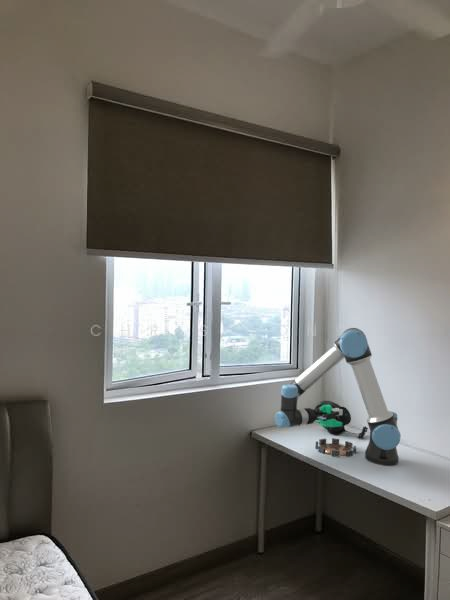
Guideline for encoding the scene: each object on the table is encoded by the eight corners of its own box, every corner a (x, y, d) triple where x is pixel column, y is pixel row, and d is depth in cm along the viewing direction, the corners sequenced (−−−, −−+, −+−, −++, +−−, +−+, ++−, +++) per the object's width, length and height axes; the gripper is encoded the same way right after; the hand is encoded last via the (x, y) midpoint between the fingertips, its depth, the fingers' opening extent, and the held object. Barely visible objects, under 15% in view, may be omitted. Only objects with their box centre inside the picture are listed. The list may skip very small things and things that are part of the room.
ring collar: (364, 453, 233) (364, 448, 233) (335, 459, 223) (335, 454, 223) (335, 441, 250) (335, 436, 249) (307, 446, 239) (307, 441, 239)
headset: (352, 453, 257) (307, 420, 267) (362, 437, 267) (318, 406, 277) (365, 434, 246) (317, 401, 256) (375, 418, 255) (329, 387, 265)
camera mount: (342, 428, 234) (344, 407, 234) (331, 429, 230) (332, 408, 230) (326, 421, 244) (328, 401, 244) (314, 422, 240) (316, 402, 240)
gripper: (293, 420, 235) (329, 415, 247) (314, 428, 222) (350, 422, 235) (294, 405, 235) (330, 400, 247) (315, 412, 222) (351, 407, 234)
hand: (340, 411), depth 241 cm, fingers closed on camera mount, 2 cm apart
